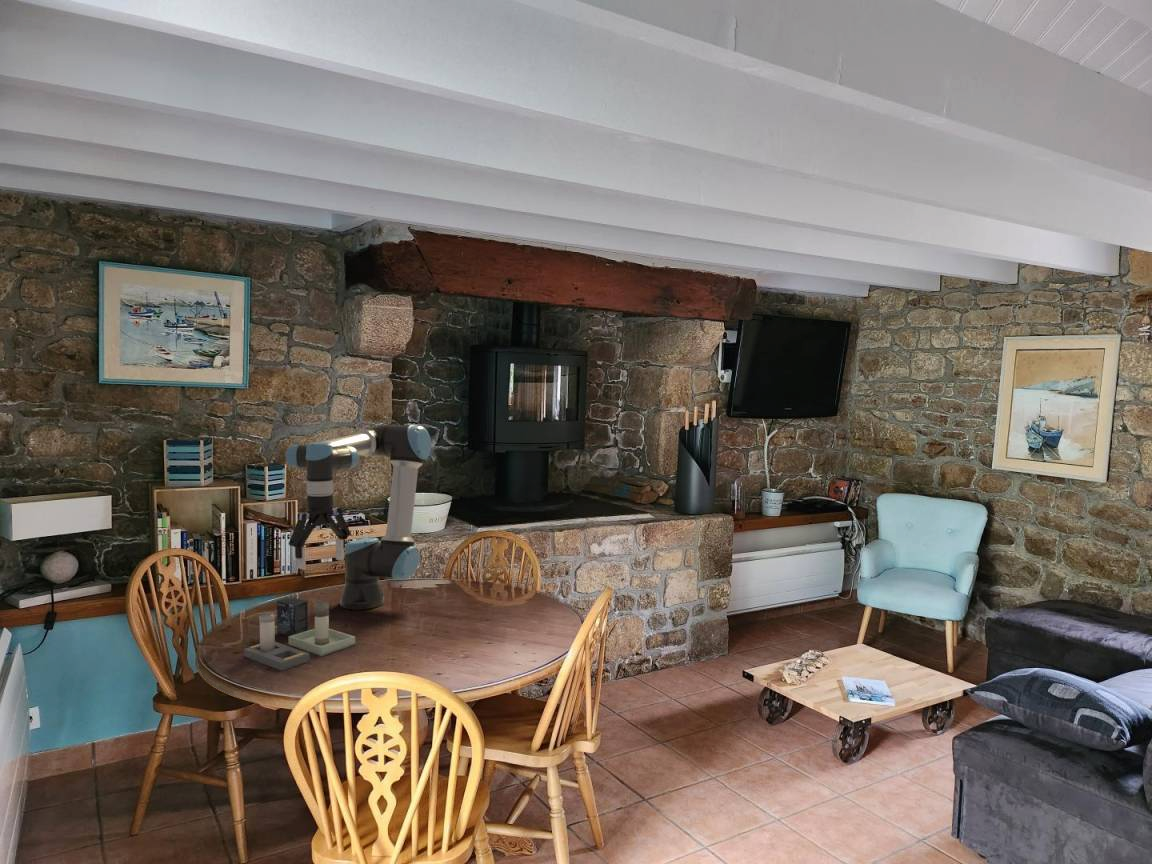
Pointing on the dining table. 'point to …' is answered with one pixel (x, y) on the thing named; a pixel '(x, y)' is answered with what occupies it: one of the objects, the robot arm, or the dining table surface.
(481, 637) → the dining table surface
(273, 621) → the fuse
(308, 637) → the parts tray
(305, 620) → the box
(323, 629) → the cylinder
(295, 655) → the fuse holder
